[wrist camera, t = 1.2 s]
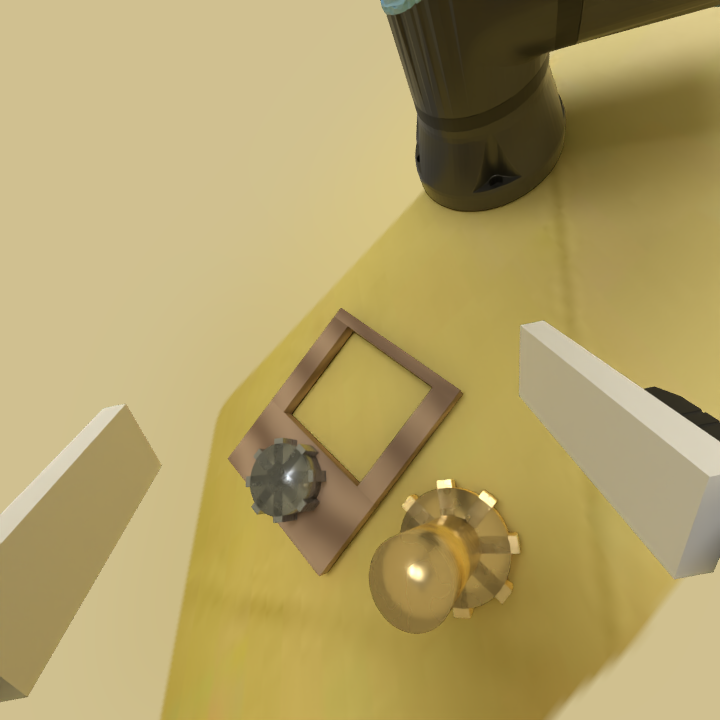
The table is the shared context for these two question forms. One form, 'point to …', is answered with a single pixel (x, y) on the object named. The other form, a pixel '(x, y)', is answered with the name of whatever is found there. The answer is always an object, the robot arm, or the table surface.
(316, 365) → the plate
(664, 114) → the table surface
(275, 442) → the sun gear
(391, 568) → the planet gear
